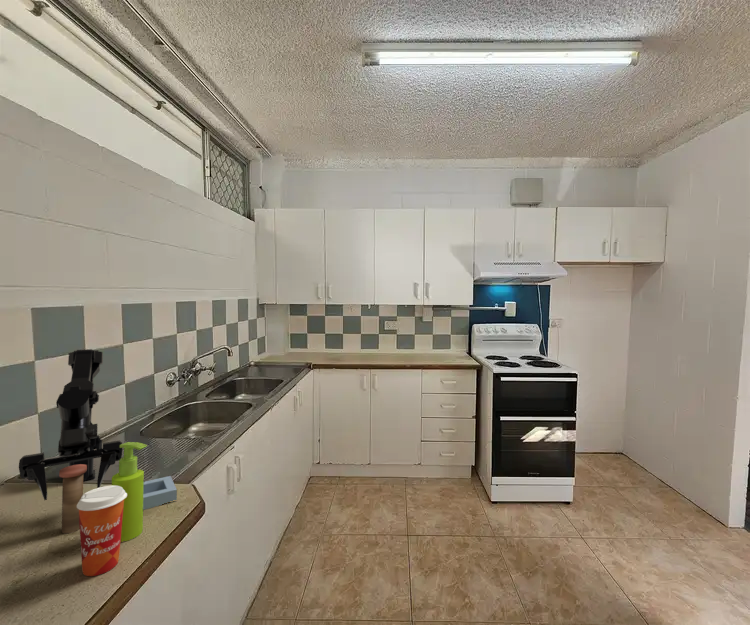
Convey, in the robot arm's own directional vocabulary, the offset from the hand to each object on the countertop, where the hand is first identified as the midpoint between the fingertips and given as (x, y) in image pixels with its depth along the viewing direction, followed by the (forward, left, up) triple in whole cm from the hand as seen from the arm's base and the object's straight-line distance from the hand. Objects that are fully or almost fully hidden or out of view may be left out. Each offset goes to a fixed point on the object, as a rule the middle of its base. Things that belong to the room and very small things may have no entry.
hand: (72, 493), depth 83 cm
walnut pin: (0, 0, -8) cm, 8 cm away
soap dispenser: (+10, +10, -8) cm, 16 cm away
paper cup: (+19, +5, -8) cm, 21 cm away
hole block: (-5, +16, -8) cm, 19 cm away
